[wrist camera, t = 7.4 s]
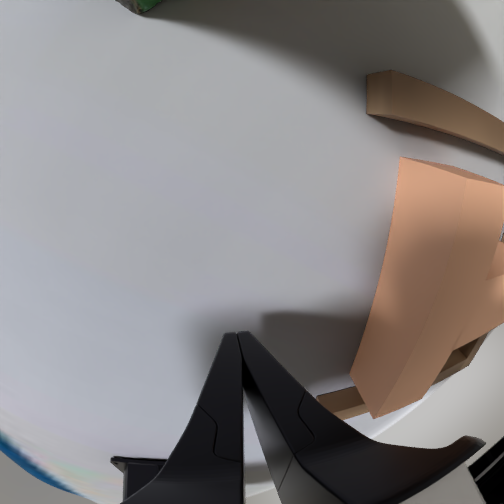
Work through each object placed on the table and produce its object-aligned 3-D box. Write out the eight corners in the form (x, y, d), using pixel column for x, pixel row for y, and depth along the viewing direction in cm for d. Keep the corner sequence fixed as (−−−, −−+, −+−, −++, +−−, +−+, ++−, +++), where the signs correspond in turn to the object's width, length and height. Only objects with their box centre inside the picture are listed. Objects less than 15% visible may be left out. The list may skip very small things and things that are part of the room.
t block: (459, 334, 16) (484, 362, 13) (349, 373, 14) (373, 419, 11) (509, 180, 11) (550, 199, 7) (399, 156, 9) (466, 178, 6)
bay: (459, 354, 17) (468, 365, 16) (313, 408, 15) (320, 426, 14) (526, 144, 10) (542, 150, 8) (366, 74, 7) (391, 70, 6)
